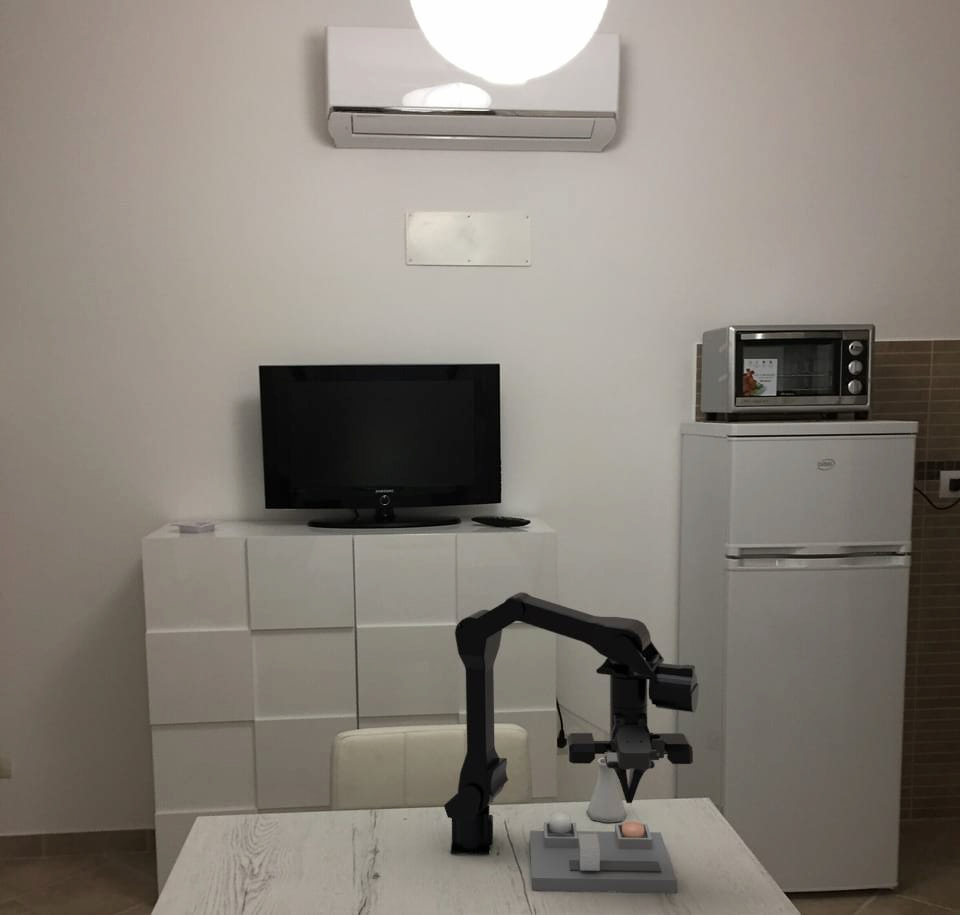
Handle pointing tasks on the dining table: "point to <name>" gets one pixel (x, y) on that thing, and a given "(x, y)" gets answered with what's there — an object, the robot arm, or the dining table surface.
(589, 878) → the panel
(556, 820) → the grey button
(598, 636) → the robot arm
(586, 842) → the rough gray brick
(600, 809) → the flask
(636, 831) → the terracotta button
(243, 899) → the dining table surface
